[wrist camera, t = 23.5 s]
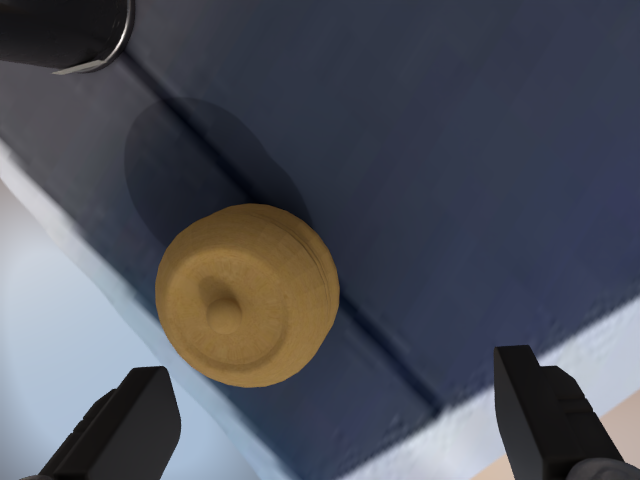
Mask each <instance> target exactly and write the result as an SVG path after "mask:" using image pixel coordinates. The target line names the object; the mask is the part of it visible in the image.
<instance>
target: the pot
mask: <svg viewBox="0 0 640 480" xmlns="http://www.w3.org/2000/svg"><path fill="white" fill-rule="evenodd" d="M339 289H340V287H339V281H338V275H337V269H336V266H335V264H334V261H333V259H332V256H331V254H330V251H329V249H328V248H327V247H326V245H325V244H324V242H323V241H322V239H321V238H320V237H319V235H318V234H317V233H316V232H315V231H314V230H313V229H312V228H311V227H309V226H308V225H307V224H306V223H305V222H304V221H303V220H301V219H299V218H298V217H296V216H294V215H293V214H291V213H289V212H288V211H285V210H282V209H279V208H276V207H273V206H270V205H264V204H251V203H248V204H241V205H235V206H230V207H227V208H225V209H222V210H220V211H218V212H215V213H213V214H211V215H210V216H207V217H205V218H202V219H200V220H198V221H196V222H195V223H193V224H191V225H190V226H189V227H187V228H186V229H184V230H183V231H182V232H180V233H179V234H178V235H177V236H176V238H175V239H174V240H173V241H172V243H171V244H170V245H169V246H168V248H167V249H166V251H165V253H164V256H163V258H162V260H161V262H160V264H159V268H158V273H157V278H156V283H155V293H156V307H157V311H158V315H159V319H160V323H161V325H162V327H163V329H164V332H165V334H166V336H167V338H168V340H169V341H170V343H171V344H172V345H173V347H174V348H175V350H176V351H177V353H178V354H179V355H180V356H181V357H182V358H183V359H184V360H185V361H186V362H187V363H188V364H189V365H190V366H191V367H193V368H194V369H196V370H197V371H199V372H201V373H202V374H204V375H205V376H207V377H209V378H211V379H214V380H217V381H219V382H222V383H225V384H228V385H234V386H240V387H265V386H268V385H272V384H275V383H278V382H282V381H284V380H286V379H287V378H289V377H291V376H292V375H294V374H296V373H297V372H299V371H300V370H301V369H302V368H303V367H304V366H305V365H306V364H307V363H308V362H309V361H310V360H311V359H312V358H313V356H314V355H315V354H316V352H317V350H318V349H319V347H320V345H321V344H322V342H323V340H324V339H325V337H326V335H327V334H328V332H329V330H330V329H331V327H332V325H333V323H334V320H335V316H336V313H337V310H338V306H339Z"/></svg>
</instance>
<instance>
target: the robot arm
mask: <svg viewBox="0 0 640 480" xmlns="http://www.w3.org/2000/svg"><path fill="white" fill-rule="evenodd" d="M134 19H135V0H0V60H2V61H9V62H15V63H22V64H29V65H35V66H42V67H49V68H56V69H59V70H61V71H57V72H54V73H53V74H60V75H64V74H67V73H71V72H74V73H90V72H95V71H98V70H100V69H103V68H104V67H106V66H108V65H109V64H111V63H112V62H113V61H114V60H115V59H116V58H117V57H118V56H119V55H120V54H121V53H122V51H123V50H124V48H125V47H126V45H127V43H128V41H129V38H130V36H131V33H132V30H133V25H134ZM494 391H495V411H496V418H497V423H498V428H499V432H500V435H501V438H502V441H503V444H504V447H505V450H506V453H507V456H508V459H509V462H510V465H511V468H512V472H513V474H514V478H515V480H640V469H638V468H636V467H635V466H633V465H630V464H628V463H625V461H624V460H623V458H622V456H621V455H620V453H619V451H618V450H617V448H616V446H615V445H614V443H613V442H612V440H611V438H610V437H609V435H608V433H607V432H606V430H605V428H604V427H603V425H602V423H601V422H600V420H599V418H598V417H597V415H596V413H595V412H593V408H592V407H591V405H590V403H589V402H588V400H587V398H585V395H584V394H583V392H582V390H581V389H580V387H579V385H578V384H577V382H576V380H575V379H574V378H573V377H571V376H570V375H569V374H567V373H566V372H564V371H563V370H562V369H560V368H559V367H558V366H540V365H539V363H538V361H537V359H536V357H535V355H534V353H533V351H532V350H531V348H530V346H529V345H517V346H501V347H495V348H494ZM180 433H181V417H180V413H179V410H178V406H177V402H176V398H175V395H174V391H173V387H172V383H171V379H170V376H169V373H168V370H167V369H166V368H165V367H164V366H154V367H138V368H133V369H132V370H131V371H130V372H129V373H128V375H127V376H126V377H125V379H124V380H123V381H122V383H121V384H120V385H119V387H118V388H117V389H112V390H111V391H110V392H108V393H107V394H106V395H104V396H103V397H102V398H100V399H99V400H98V401H96V402H95V403H94V404H93V406H92V407H91V408H90V409H89V411H88V412H87V413H86V414H85V416H84V417H83V420H82V421H80V422H79V423H78V425H77V426H76V427H75V428H74V430H73V433H71V434H70V435H69V436H68V437H67V438H66V440H65V441H64V442H63V444H62V445H61V446H60V447H59V449H58V450H57V451H56V453H55V454H54V455H53V456H52V458H51V459H50V460H49V461H48V463H47V464H46V465H45V466H44V468H43V469H42V470H41V472H40V473H39V474H38V475H34V476H29V477H25V478H22V479H20V480H160V478H161V476H162V474H163V472H164V470H165V468H166V466H167V464H168V461H169V460H170V458H171V456H172V454H173V452H174V450H175V448H176V446H177V444H178V441H179V438H180Z"/></svg>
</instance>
